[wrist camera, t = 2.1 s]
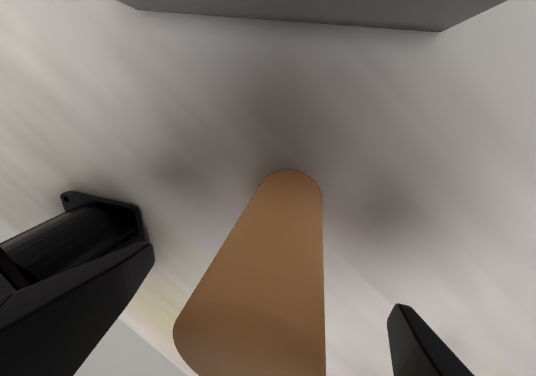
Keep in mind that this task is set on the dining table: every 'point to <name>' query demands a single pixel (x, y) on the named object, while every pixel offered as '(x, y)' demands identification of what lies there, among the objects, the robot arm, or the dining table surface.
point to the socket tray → (334, 11)
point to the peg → (262, 289)
